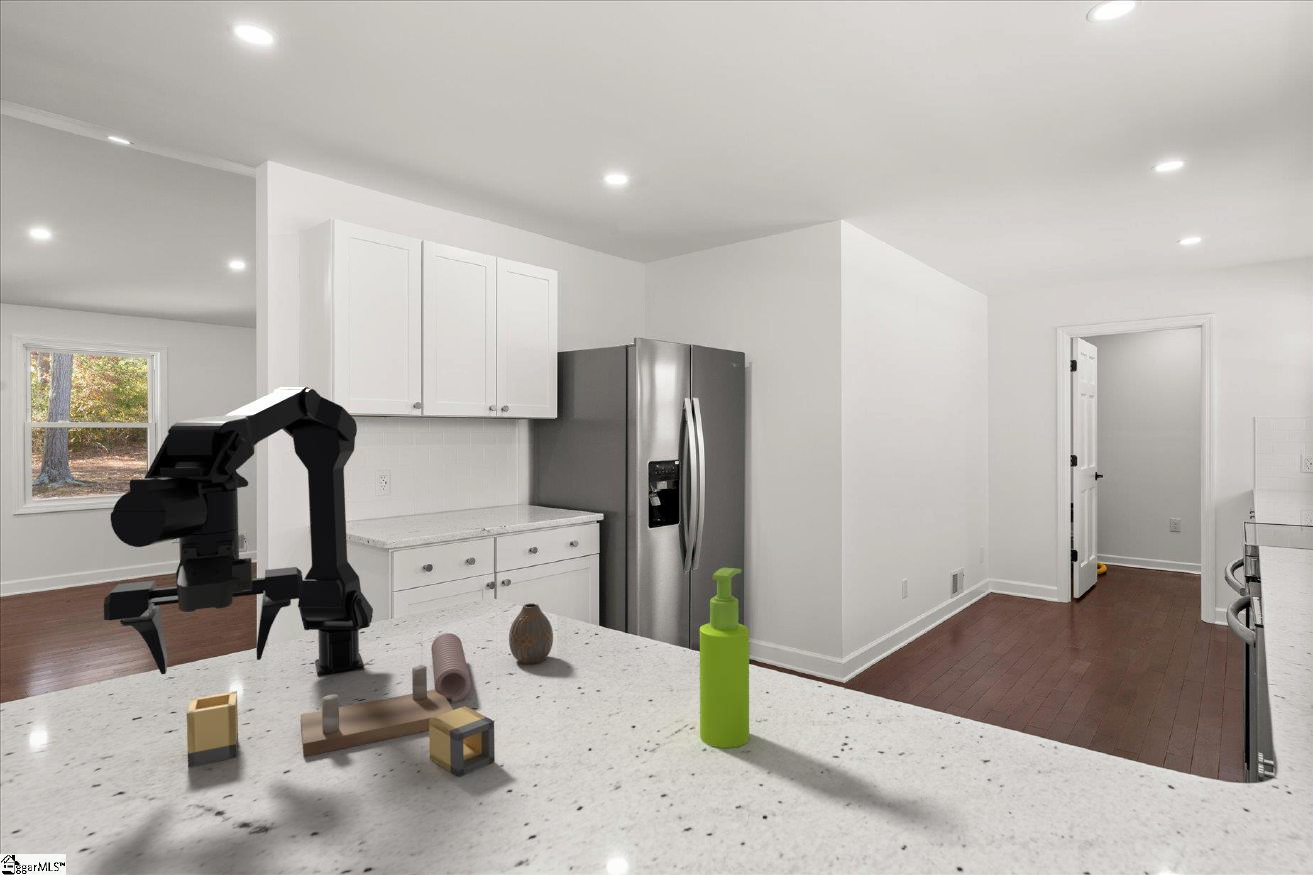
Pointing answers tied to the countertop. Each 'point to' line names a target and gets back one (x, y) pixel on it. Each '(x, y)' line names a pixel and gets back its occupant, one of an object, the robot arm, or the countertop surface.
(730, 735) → the soap dispenser
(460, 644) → the coil
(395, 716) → the pin board
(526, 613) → the vase
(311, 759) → the countertop surface
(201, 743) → the loose sleeve
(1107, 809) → the countertop surface
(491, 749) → the tan angular part
